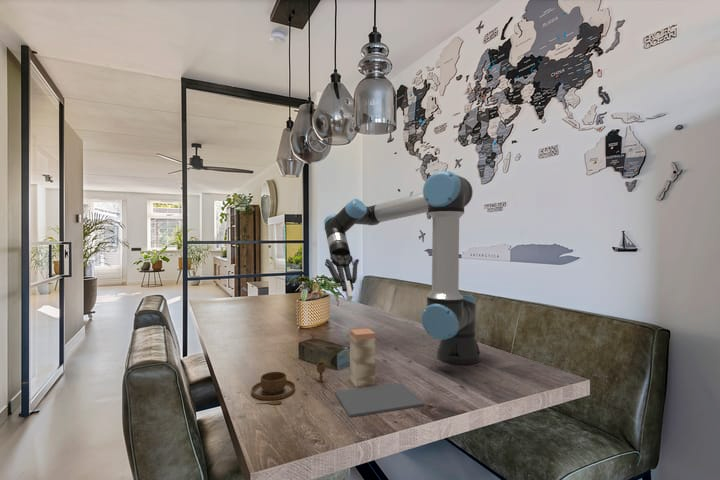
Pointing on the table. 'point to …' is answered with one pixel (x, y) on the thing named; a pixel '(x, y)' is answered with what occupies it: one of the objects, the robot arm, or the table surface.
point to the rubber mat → (377, 399)
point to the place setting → (278, 385)
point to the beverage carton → (325, 353)
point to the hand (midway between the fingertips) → (350, 298)
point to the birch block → (362, 357)
